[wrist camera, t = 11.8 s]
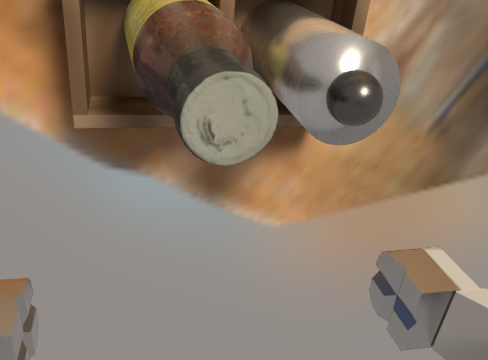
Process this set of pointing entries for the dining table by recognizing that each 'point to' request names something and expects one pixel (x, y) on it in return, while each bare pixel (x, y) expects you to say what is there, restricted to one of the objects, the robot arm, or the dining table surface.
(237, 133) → the sauce bottle
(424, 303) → the robot arm
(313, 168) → the dining table surface
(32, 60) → the dining table surface
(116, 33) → the condiment caddy
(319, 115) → the pepper mill
